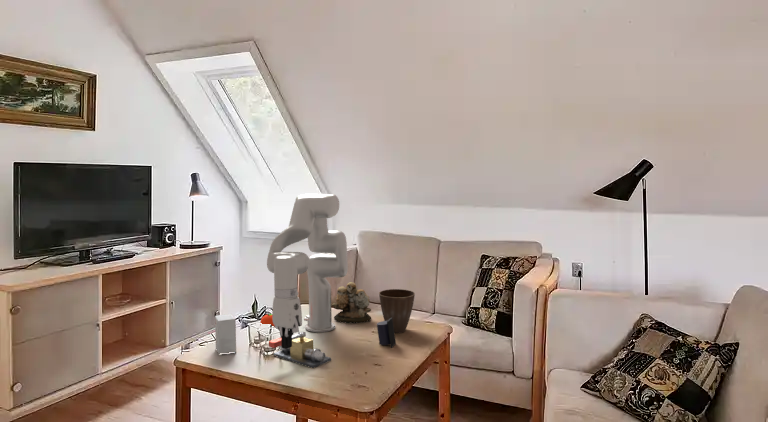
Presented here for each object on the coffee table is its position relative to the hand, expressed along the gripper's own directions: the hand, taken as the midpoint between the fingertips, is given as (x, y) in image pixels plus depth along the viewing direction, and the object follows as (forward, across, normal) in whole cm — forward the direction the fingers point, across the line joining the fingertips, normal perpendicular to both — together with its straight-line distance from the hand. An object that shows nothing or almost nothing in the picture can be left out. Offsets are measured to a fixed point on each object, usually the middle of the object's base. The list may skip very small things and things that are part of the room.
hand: (286, 347), depth 176 cm
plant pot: (+8, -2, -59) cm, 60 cm away
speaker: (+8, -9, -42) cm, 44 cm away
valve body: (+8, +6, -12) cm, 16 cm away
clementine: (+8, +41, -27) cm, 50 cm away
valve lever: (+1, +6, -6) cm, 8 cm away
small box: (+9, +34, 0) cm, 35 cm away
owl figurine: (+8, +24, -60) cm, 65 cm away
